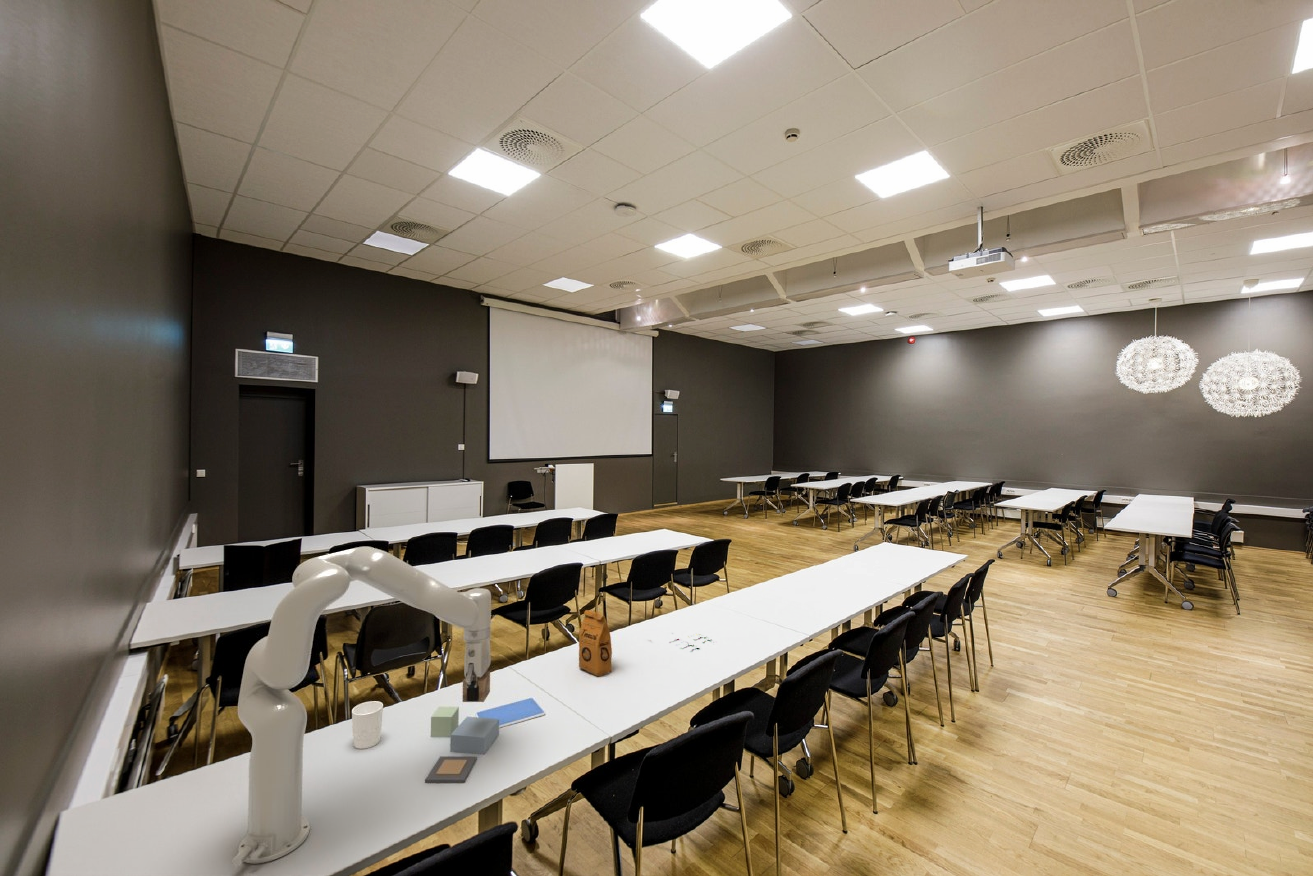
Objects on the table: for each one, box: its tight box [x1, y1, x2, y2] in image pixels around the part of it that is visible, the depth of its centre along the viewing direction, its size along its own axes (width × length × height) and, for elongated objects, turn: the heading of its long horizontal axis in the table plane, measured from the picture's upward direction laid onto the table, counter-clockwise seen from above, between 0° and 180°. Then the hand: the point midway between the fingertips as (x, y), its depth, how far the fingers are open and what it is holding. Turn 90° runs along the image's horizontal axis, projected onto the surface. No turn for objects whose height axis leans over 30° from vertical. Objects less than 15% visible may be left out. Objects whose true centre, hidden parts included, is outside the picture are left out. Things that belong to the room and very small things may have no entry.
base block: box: [449, 716, 500, 755], centre depth 154 cm, size 10×10×5 cm
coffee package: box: [578, 609, 613, 678], centre depth 204 cm, size 10×12×22 cm
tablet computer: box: [474, 697, 546, 729], centre depth 170 cm, size 19×13×1 cm, turn 123°
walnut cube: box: [462, 671, 491, 703], centre depth 154 cm, size 6×6×6 cm
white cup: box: [351, 700, 384, 750], centre depth 154 cm, size 8×8×10 cm
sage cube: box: [430, 706, 460, 738], centre depth 160 cm, size 6×6×6 cm
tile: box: [424, 755, 478, 784], centre depth 141 cm, size 10×10×1 cm
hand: (476, 694), depth 154 cm, fingers closed on walnut cube, 6 cm apart
